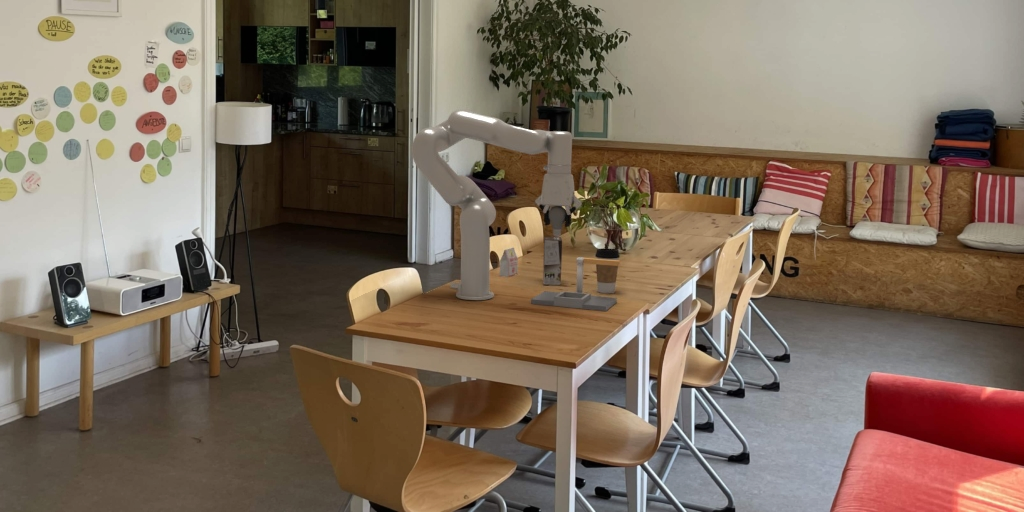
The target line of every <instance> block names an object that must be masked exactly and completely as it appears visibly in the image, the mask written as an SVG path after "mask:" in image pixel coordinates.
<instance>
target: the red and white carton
mask: <svg viewBox="0 0 1024 512" xmlns="http://www.w3.org/2000/svg"><path fill="white" fill-rule="evenodd" d="M518 261H519V258H518V256H517V254H516V250H515V247H510V248H506V249H504V250H503V253H502V255H501V257H500V260H499V277H503V276H505V277H504V278H511V277H513V276H512V275H514V276H516V275H515V274H517V275H518V265H519V264H518V263H519V262H518Z"/></svg>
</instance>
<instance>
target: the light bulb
mask: <svg viewBox="0 0 1024 512" xmlns="http://www.w3.org/2000/svg"><path fill="white" fill-rule="evenodd" d="M566 213H567V212H566V209H565V207H564V206H551V207H550V210H549V214H548V215H549V219H550V224H551V226H552V235H553V237H561V236H562V234H561V233H562V229H563V225H564V224H565V215H566Z"/></svg>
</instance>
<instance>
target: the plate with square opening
mask: <svg viewBox="0 0 1024 512" xmlns="http://www.w3.org/2000/svg"><path fill="white" fill-rule="evenodd" d="M576 265H577V267H576V292H575V291H568V290H567V291H565V290H564V291H561V292H558V291H548V290H544V291H542V292H541V293H539V294H537V295H536V296H534V297H532V298H531V299H530V304H531V305H537V306H538V305H539V306H540V305H541V306H548V307H550V306H552V307H561V308H572V309H581V310H588V309H589V310H590V311H600V312H607V311H608V310H609V309H611V308H612V307H613V306H614V305H615V304H617V302H618V299H617V297H612V296H611V297H610V296H601V295H600V296H599V295H592V293H587V292H586V293H585V292H584V291H583V288H584V286H583V285H584V263H577V262H576Z"/></svg>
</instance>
